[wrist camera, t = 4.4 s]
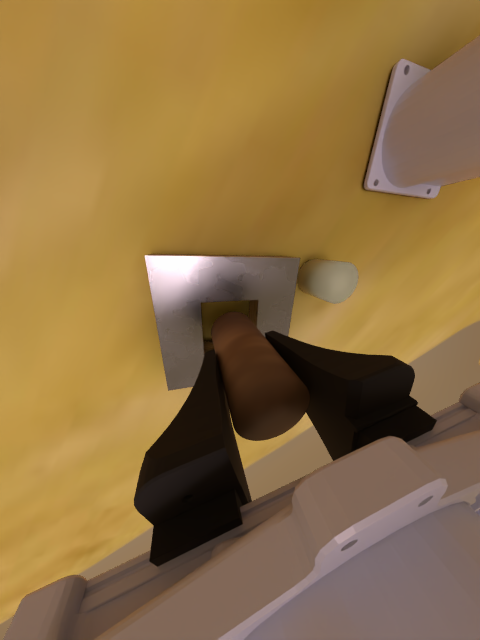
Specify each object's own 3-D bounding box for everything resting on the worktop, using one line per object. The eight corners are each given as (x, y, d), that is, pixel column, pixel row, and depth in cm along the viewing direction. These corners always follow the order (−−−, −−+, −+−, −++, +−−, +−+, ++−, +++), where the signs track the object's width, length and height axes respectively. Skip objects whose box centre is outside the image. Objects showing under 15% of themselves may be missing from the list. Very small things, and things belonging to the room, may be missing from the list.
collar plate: (285, 256, 17) (300, 258, 15) (273, 358, 22) (282, 371, 19) (151, 253, 14) (144, 255, 12) (170, 373, 19) (168, 390, 16)
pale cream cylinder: (329, 259, 18) (363, 262, 15) (322, 292, 20) (351, 302, 16) (300, 258, 17) (328, 261, 14) (294, 293, 19) (319, 304, 15)
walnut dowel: (249, 306, 14) (310, 366, 7) (255, 343, 16) (309, 423, 9) (206, 317, 14) (224, 396, 6) (216, 354, 15) (240, 451, 8)
